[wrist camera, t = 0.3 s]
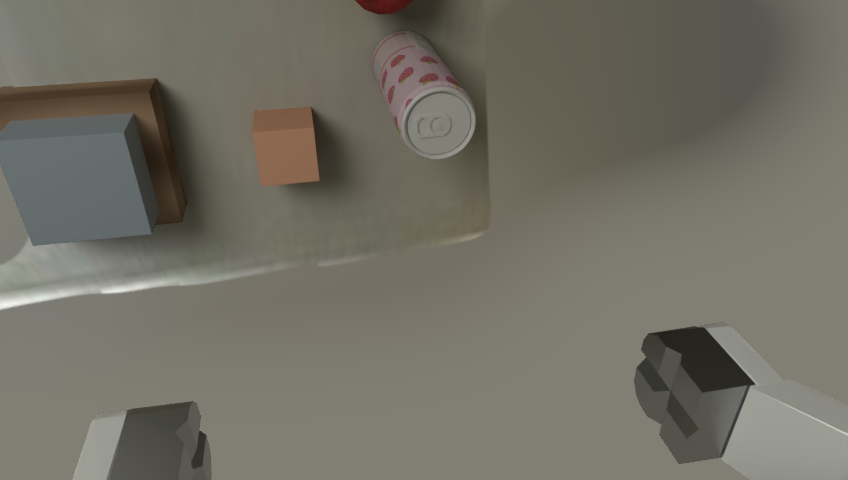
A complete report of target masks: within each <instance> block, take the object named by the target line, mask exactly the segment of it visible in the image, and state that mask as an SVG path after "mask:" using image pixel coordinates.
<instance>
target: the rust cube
mask: <svg viewBox="0 0 848 480" xmlns="http://www.w3.org/2000/svg"><path fill="white" fill-rule="evenodd" d="M252 133H253V139H254V145H255V151H256V157H257V163H258V169H259V175H260V181H261V186H271V185H282V184H292V183H303V182H313V181H319V171H318V162H317V153H316V144H315V135H314V126H313V119H312V111H311V107H303V108H289V109H276V110H263V111H254V118H253V131H252Z"/></svg>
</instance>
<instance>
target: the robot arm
mask: <svg viewBox="0 0 848 480" xmlns="http://www.w3.org/2000/svg"><path fill="white" fill-rule="evenodd" d="M641 350H642V352H643V353H644V354H645V356H646V358H645V359H644V360H643V361H642V362H641V363H640V364H639V365H638V366H637V369H636V374H635V379H634V383H635V389H636V395H637V398H638V400H639V403H640V405H641V407H642V408H643V410H644V412H645V413H646V415H647V416H648V417H650V418H651V419H653V420H655V421H657V422H658V423H660V424H661V428H660V436H661V438H662V439H663V441H664V442H665V444H666V445H667V447H668V448H669V450H670V451H671V453H672V454H673V456H674V457H675V459H676V460H677V462H678V463H679V464H682V463H689V462H695V461H701V460H708V459H714V458H721V457H722V460H723V461H724V462H726V463H727V464H729V465H730V466H731V467H733V468H734V469H736V470H737V471H738V472H740V473H741V474H743V475H744V476H746V477H747V478H748V479H750V480H848V405H845V404H843V403H841V402H839V401H837V400H835V399H832V398H830V397H828V396H826V395H824V394H821V393H819V392H817V391H815V390H813V389H811V388H808V387H806V386H804V385H802V384H800V383H797V382H795V381H793V380H785V381H783V380H782V379H781V378H780V376H779V375H777V373H775V371H774V370H773V369H772V368H771V367H770V366H769V365H768V364H767V363H766V362H765V361H764V360H763V359H762V358H761V357H760V356H759V355H758V354H757V353H756V352H755V351H754V350H753V348H752V347H750V345H748V343H747V342H746V341H745V340H744V339H743V338H742V337H741V336H740V335H739V334H738V333H737V332H736V331H735V330H734V329H733V328H732V327H731V326H730V325H728V324H726V323H724V322H718V323H712V324H705V325H699V326H697V327H695V326H693V327H687V328H681V329H675V330H668V331H662V332H655V333H649V334H648V335H647V336H646V337H645V339H644V341H643V344H642V348H641ZM200 419H201V415H200V413H199V410H198V406H197V403H195V402H193V401H192V402H184V403H175V404H167V405H159V406H152V407H143V408H135V409H131V410H125V411H116V412H109V413H101V414H98V415H97V416H96V417H95V418H94V420H93V421H92V422H91V425H90V428H89V431H88V435H87V437H86V441H85V443H84V447H83V450H82V453H81V455H80V459H79V462H78V465H77V468H76V471H75V474H74V477H73V480H211V455H210V448H209V443H208V440H207V436H206V434H204V433H202V432H201V431H199V428H200Z"/></svg>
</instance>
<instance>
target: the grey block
mask: <svg viewBox="0 0 848 480" xmlns="http://www.w3.org/2000/svg"><path fill="white" fill-rule="evenodd" d="M0 165H1V168H2V170H3V173H4V175H5V178H6V180H7V183H8V185H9V187H10V190H11V192H12V195H13V197H14V200H15V202H16V205H17V207H18V209H19V212H20V215H21V217H22V220H23V222H24V224H25V227H26V229H27V232H28V234H29V237H30V239H31V242H32V244H33V246H36V245H46V244H57V243H67V242H77V241H88V240H98V239H108V238H119V237H129V236H139V235H150V234H152V232H153V229H154V225H155V222H156V219H157V216H158V212H159V208H158V204H157V201H156V197H155V193H154V189H153V185H152V181H151V178H150V174H149V170H148V166H147V162H146V159H145V155H144V151H143V147H142V143H141V139H140V136H139V132H138V128H137V124H136V120H135V117H134V113H127V114H112V115H96V116H81V117H65V118H50V119H34V120H19V121H10V122H9V123H8V124H7V125H6V126H5V127H4V128H3V129H2V130H1V132H0Z"/></svg>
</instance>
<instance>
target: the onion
mask: <svg viewBox="0 0 848 480" xmlns="http://www.w3.org/2000/svg"><path fill="white" fill-rule="evenodd" d="M355 1H356V2H357V3H358V4H359V5H360V6H361V7H362V8H364V9H365V10H368V11H371V12H373V13H376V14H393V13H395V12H397V11H399V10H401V9H404V8H405V7H406V6H407V5H408V4H409V3H411V2H412V1H413V0H355Z"/></svg>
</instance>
